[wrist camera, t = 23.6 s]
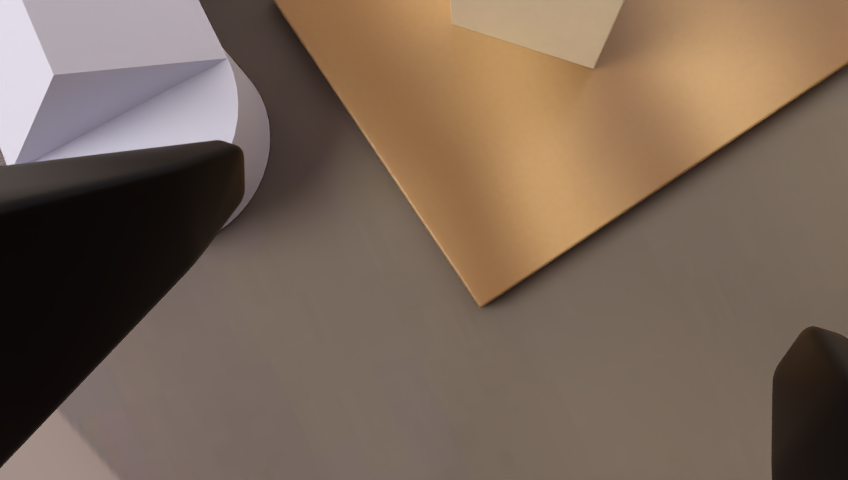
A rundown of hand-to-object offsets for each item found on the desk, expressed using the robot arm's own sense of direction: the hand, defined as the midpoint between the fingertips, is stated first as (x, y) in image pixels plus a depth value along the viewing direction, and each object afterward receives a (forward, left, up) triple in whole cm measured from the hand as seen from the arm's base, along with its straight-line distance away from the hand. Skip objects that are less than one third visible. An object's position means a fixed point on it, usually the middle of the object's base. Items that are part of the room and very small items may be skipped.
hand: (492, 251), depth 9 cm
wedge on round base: (-7, +15, -14) cm, 21 cm away
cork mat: (+10, +8, -14) cm, 18 cm away
